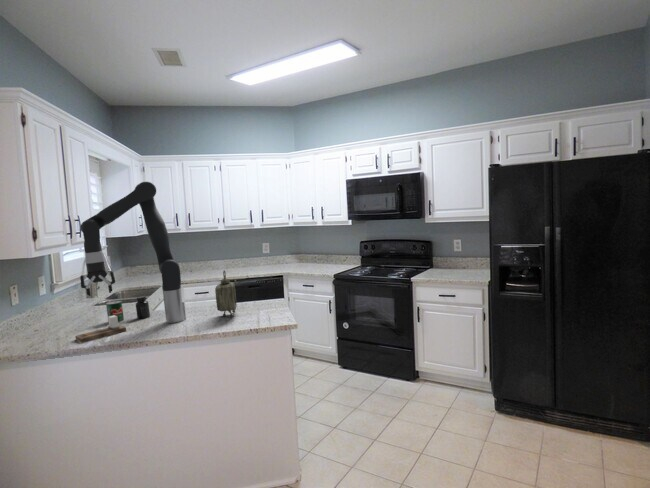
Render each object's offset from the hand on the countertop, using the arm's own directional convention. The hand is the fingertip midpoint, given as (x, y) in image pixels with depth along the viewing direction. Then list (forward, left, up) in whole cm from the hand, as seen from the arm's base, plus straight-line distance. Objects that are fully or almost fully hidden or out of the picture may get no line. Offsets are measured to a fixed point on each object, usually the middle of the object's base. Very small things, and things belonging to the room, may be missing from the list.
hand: (100, 294), depth 187 cm
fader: (-6, -5, -19) cm, 20 cm away
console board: (0, -5, -21) cm, 22 cm away
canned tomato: (-15, -28, -21) cm, 38 cm away
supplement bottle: (-27, -20, -21) cm, 39 cm away
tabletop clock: (-53, +26, -21) cm, 63 cm away
